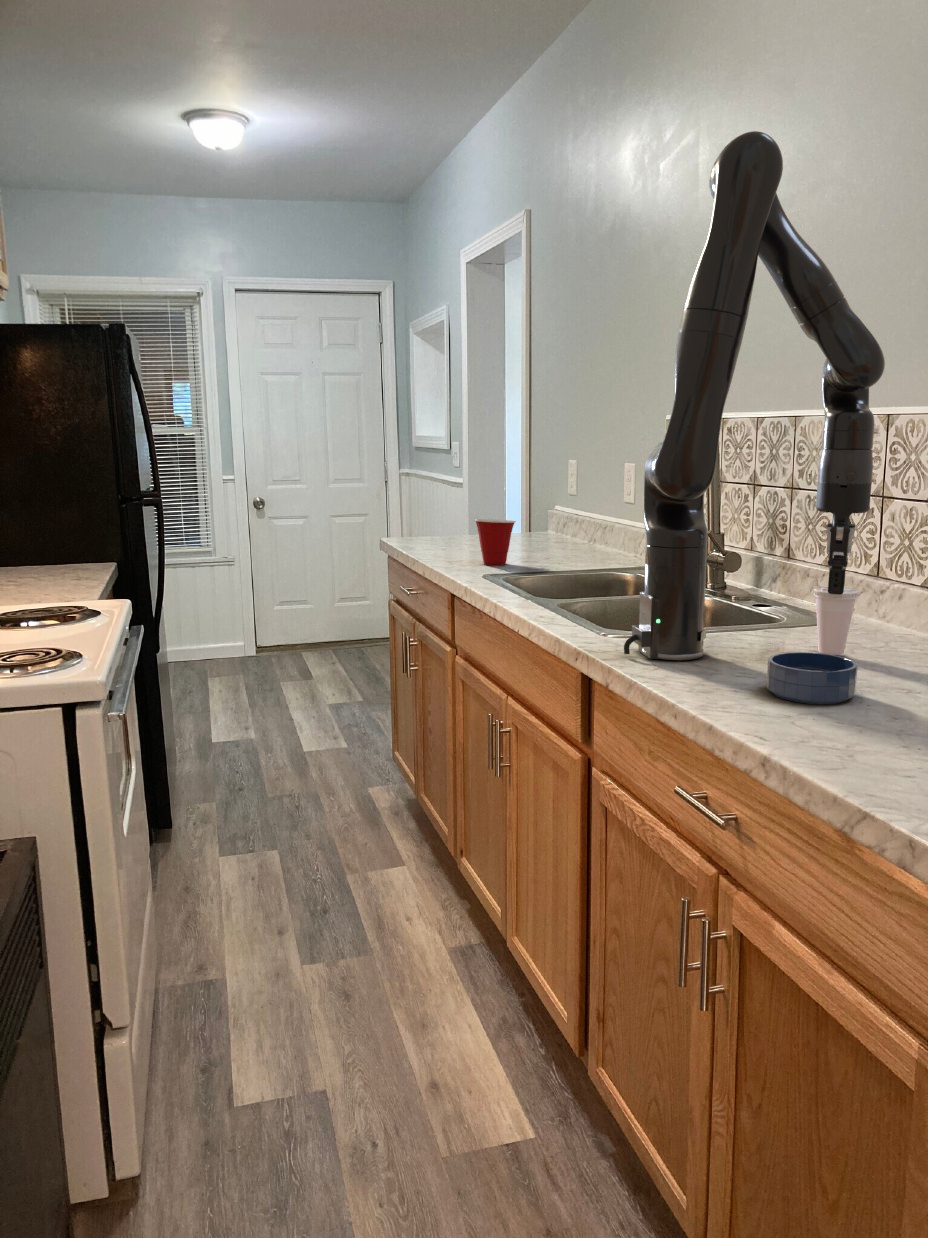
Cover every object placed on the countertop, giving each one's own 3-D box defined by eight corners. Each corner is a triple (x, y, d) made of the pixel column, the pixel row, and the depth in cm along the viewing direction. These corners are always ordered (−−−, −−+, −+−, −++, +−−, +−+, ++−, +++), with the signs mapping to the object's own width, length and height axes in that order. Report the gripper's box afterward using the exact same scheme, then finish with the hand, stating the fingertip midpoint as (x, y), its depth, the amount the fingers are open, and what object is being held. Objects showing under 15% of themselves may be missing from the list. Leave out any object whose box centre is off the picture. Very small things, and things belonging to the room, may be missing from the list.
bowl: (790, 708, 122) (792, 673, 121) (752, 685, 133) (754, 653, 132) (871, 704, 123) (874, 669, 122) (828, 682, 134) (830, 650, 133)
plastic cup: (524, 563, 253) (524, 517, 251) (499, 568, 245) (499, 521, 243) (491, 560, 260) (490, 515, 258) (466, 564, 252) (466, 518, 249)
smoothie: (857, 657, 145) (864, 565, 143) (812, 655, 147) (819, 564, 144) (849, 648, 152) (856, 559, 149) (806, 646, 153) (812, 558, 150)
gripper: (819, 477, 152) (812, 582, 155) (815, 481, 139) (807, 596, 142) (871, 478, 149) (862, 585, 152) (872, 482, 136) (862, 599, 139)
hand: (836, 590), depth 147 cm, fingers closed on smoothie, 6 cm apart
